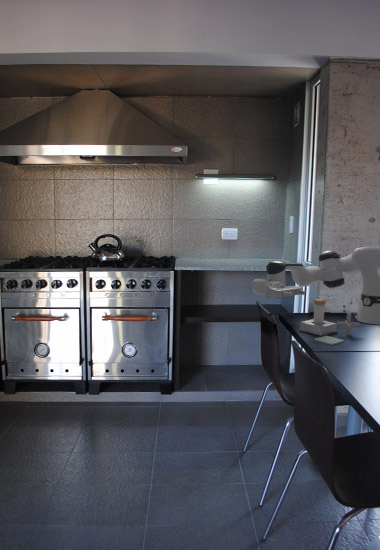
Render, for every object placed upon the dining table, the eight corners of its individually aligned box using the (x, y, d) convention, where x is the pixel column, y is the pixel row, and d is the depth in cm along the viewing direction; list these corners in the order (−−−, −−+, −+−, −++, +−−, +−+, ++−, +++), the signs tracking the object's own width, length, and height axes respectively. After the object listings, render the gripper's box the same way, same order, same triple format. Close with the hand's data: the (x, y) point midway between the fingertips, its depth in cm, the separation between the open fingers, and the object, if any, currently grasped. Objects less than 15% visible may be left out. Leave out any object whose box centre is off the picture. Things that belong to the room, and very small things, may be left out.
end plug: (316, 328, 216) (318, 298, 214) (326, 331, 211) (328, 300, 209) (309, 330, 212) (311, 299, 210) (319, 333, 208) (321, 301, 206)
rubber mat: (326, 336, 202) (326, 335, 202) (343, 341, 195) (344, 340, 195) (313, 340, 196) (314, 338, 196) (331, 345, 189) (331, 343, 189)
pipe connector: (361, 338, 200) (362, 316, 199) (337, 336, 202) (339, 315, 201) (357, 332, 210) (358, 311, 209) (335, 331, 212) (336, 310, 211)
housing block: (315, 326, 220) (315, 318, 220) (336, 331, 211) (337, 323, 210) (299, 330, 213) (300, 321, 212) (320, 335, 204) (321, 327, 203)
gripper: (289, 294, 237) (311, 298, 226) (263, 297, 224) (284, 302, 214) (290, 282, 236) (312, 285, 225) (263, 285, 224) (285, 289, 213)
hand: (298, 294), depth 219 cm, fingers open, 8 cm apart
